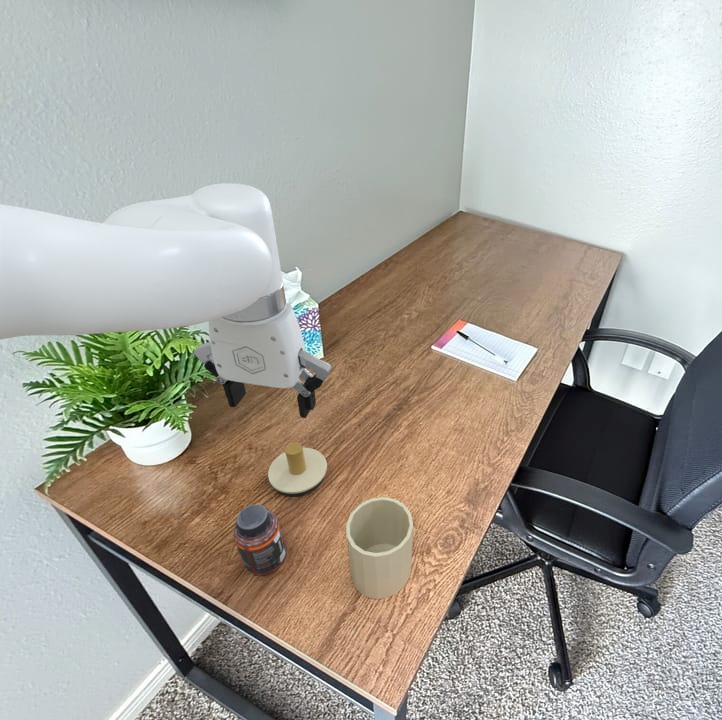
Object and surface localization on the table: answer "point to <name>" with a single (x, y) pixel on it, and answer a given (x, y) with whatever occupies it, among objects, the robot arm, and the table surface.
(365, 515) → the tin
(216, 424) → the table surface
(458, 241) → the table surface
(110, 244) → the robot arm
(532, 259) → the table surface
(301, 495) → the mat
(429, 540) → the table surface
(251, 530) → the supplement bottle
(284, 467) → the tin lid
